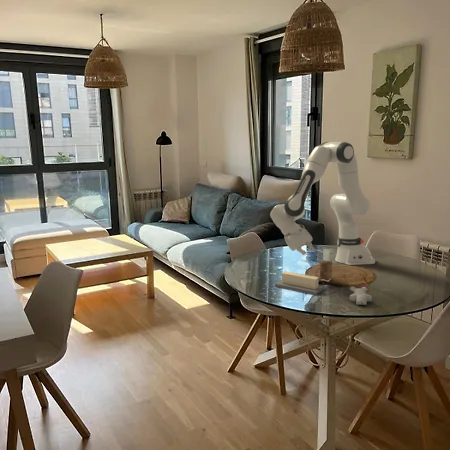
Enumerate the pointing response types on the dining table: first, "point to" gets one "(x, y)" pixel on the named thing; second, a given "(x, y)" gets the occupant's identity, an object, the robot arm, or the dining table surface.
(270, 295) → the dining table surface
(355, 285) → the wooden tablet
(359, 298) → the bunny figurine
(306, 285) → the stand
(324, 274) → the walnut pillar
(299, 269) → the dining table surface
